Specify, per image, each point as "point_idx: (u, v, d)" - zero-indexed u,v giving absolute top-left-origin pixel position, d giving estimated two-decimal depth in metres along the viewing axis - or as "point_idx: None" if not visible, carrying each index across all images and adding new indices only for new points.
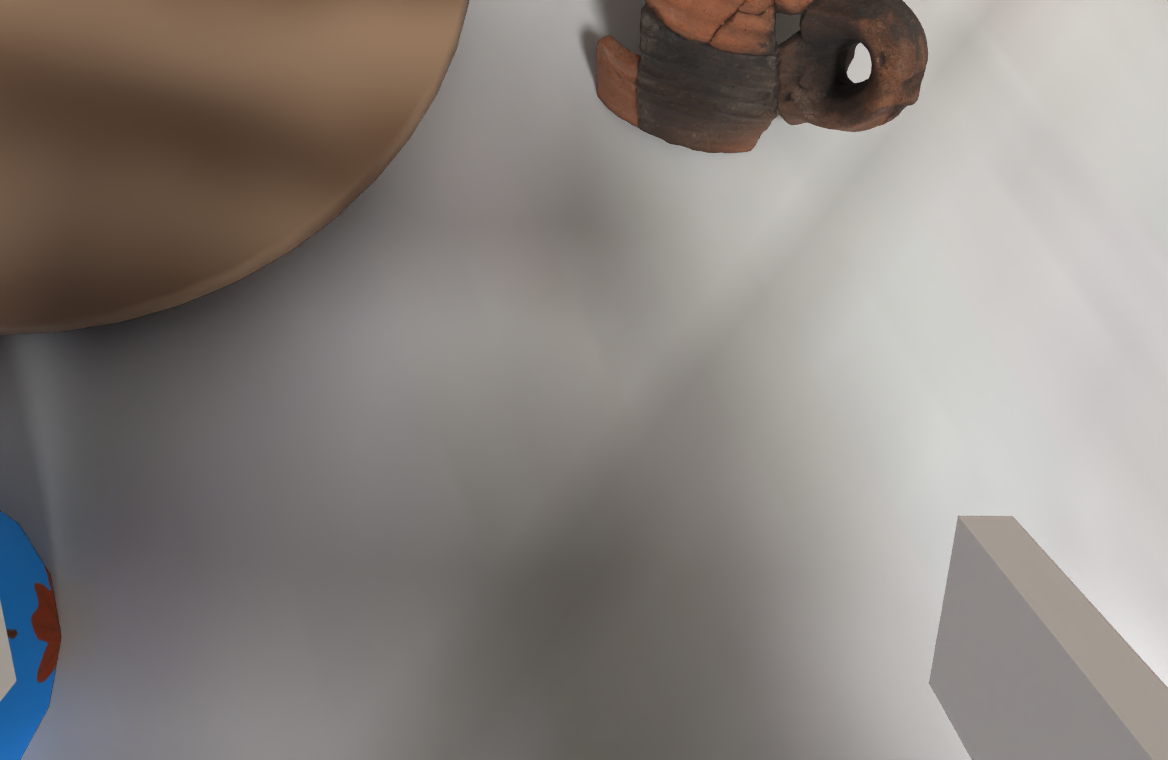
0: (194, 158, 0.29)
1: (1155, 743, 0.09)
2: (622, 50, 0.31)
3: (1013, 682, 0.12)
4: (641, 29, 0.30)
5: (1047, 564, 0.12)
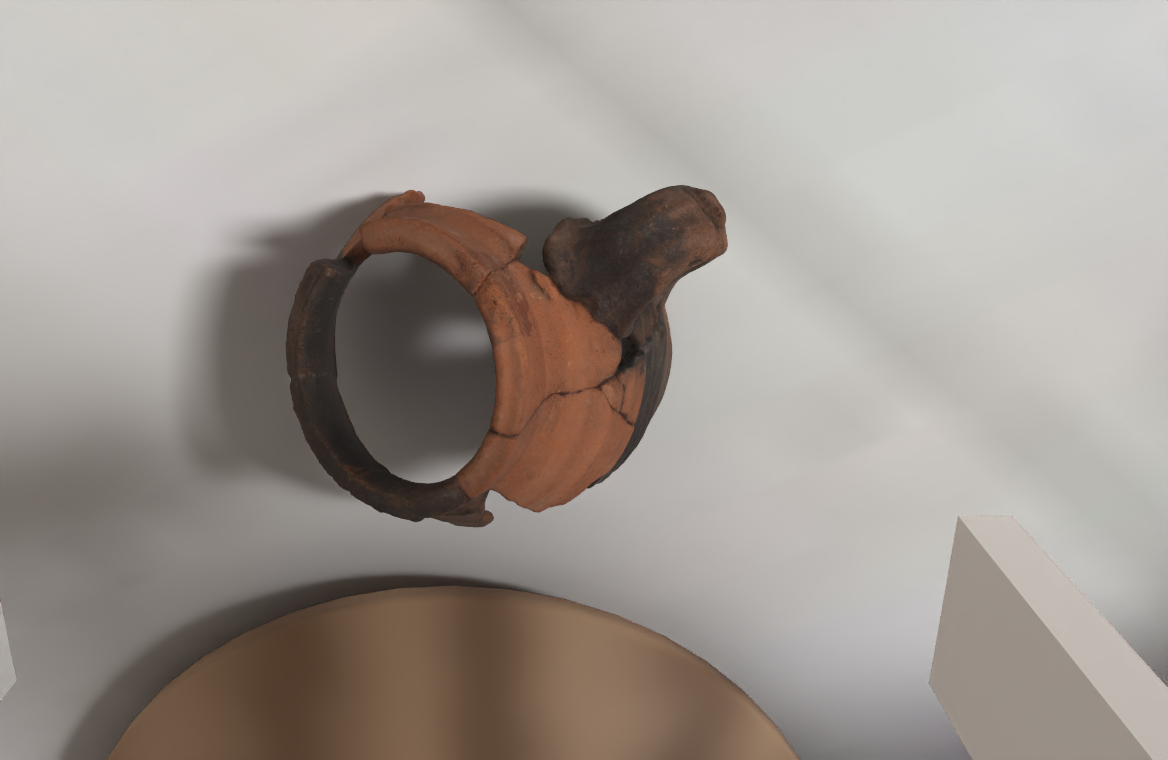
0: None
1: (1155, 743, 0.09)
2: None
3: (1012, 681, 0.12)
4: (602, 481, 0.27)
5: (1047, 564, 0.12)
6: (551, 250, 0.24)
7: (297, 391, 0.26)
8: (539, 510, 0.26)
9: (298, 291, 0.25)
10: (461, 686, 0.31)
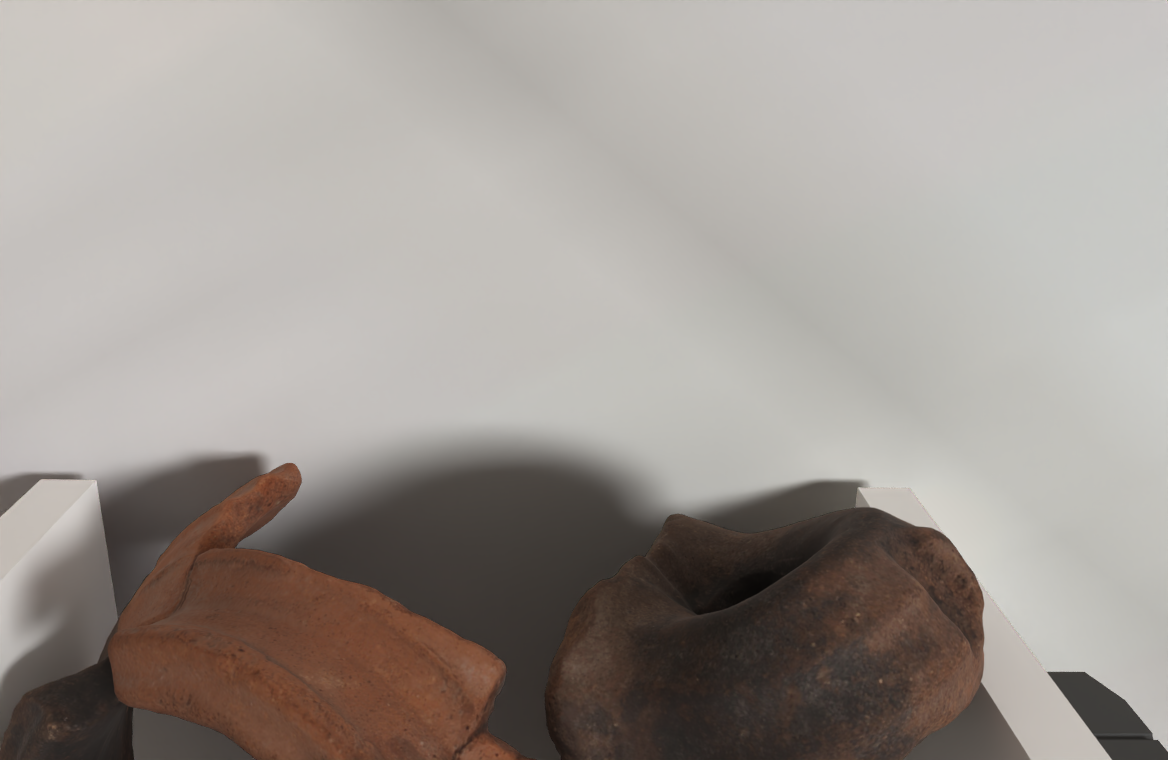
0: None
1: (999, 686, 0.10)
2: None
3: None
4: None
5: None
6: (566, 704, 0.10)
7: None
8: None
9: (1, 751, 0.11)
10: None
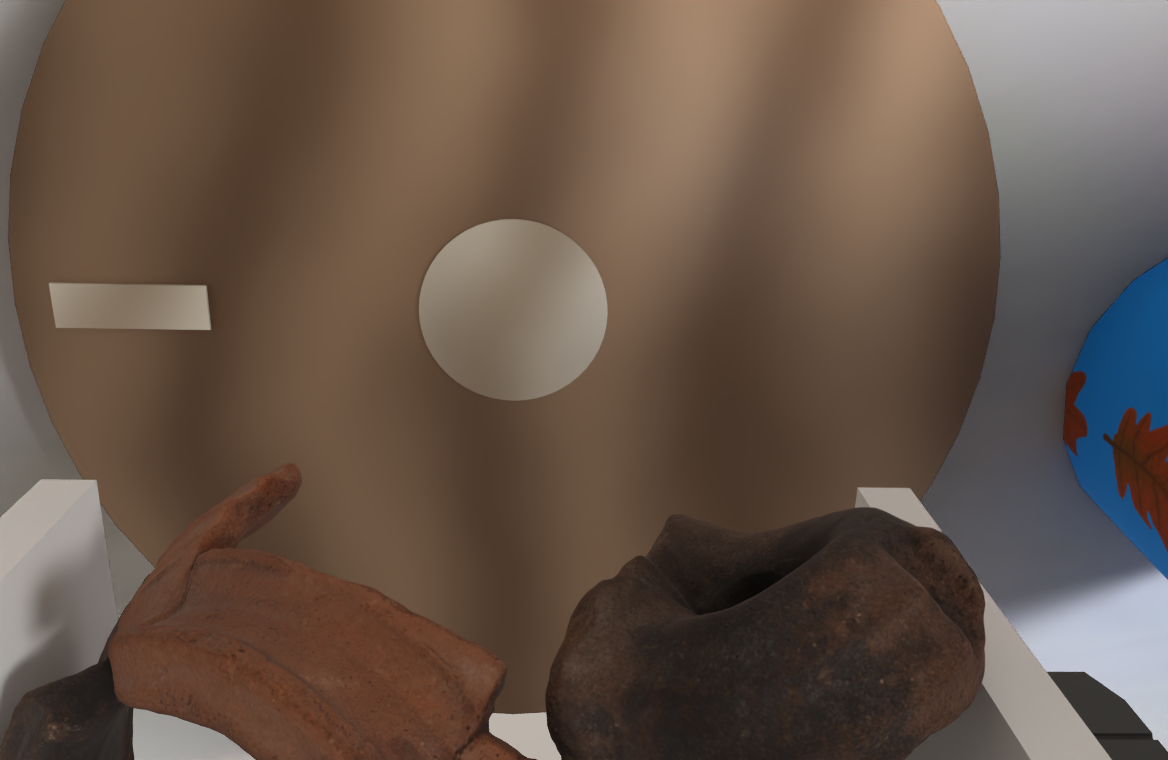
0: (827, 116, 0.25)
1: (998, 686, 0.10)
2: None
3: None
4: None
5: None
6: (567, 705, 0.10)
7: None
8: None
9: (1, 751, 0.11)
10: None
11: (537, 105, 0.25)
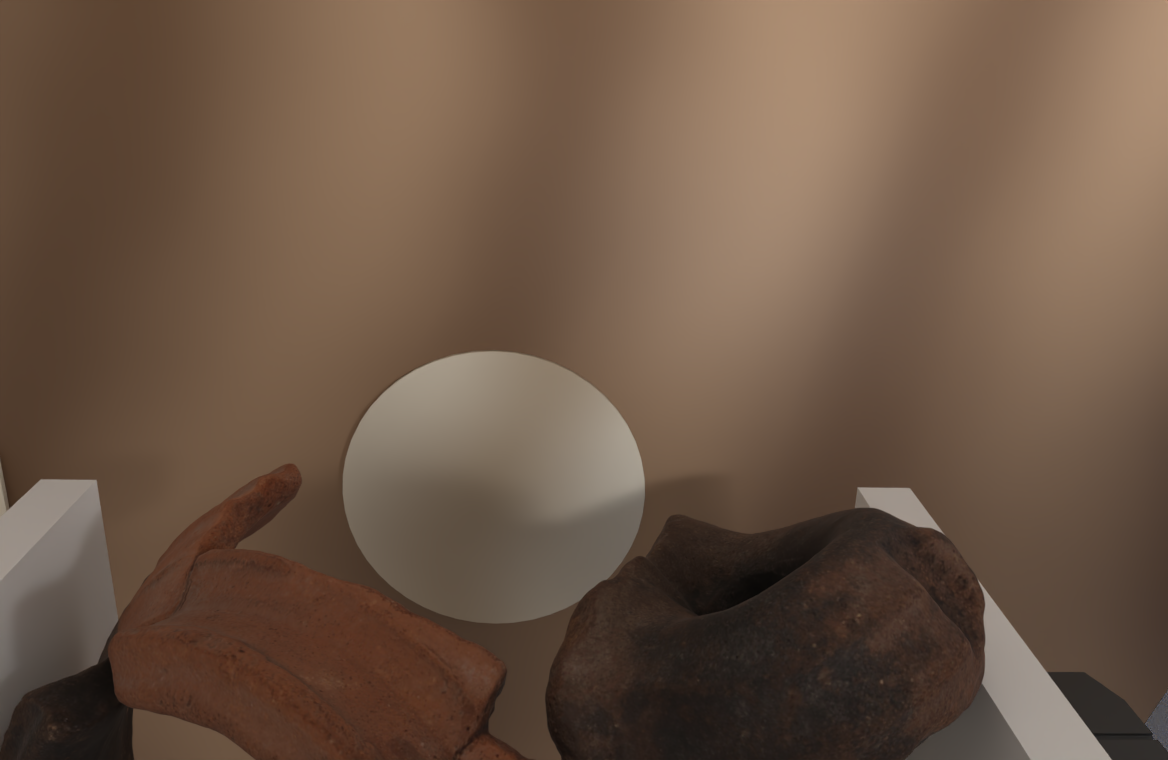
0: (1013, 187, 0.15)
1: (998, 686, 0.10)
2: None
3: None
4: None
5: None
6: (566, 705, 0.10)
7: None
8: None
9: (1, 752, 0.11)
10: None
11: (532, 169, 0.15)
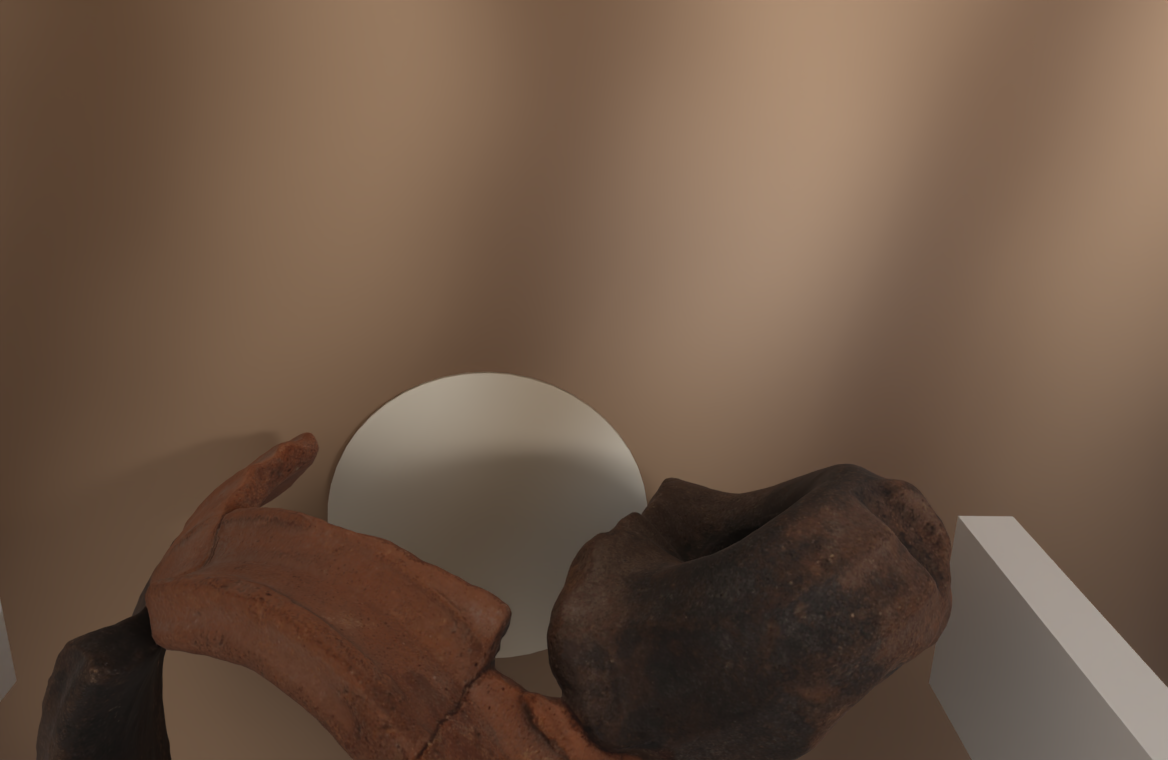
0: (1040, 199, 0.14)
1: (1155, 743, 0.09)
2: None
3: (1012, 681, 0.12)
4: None
5: (1047, 564, 0.12)
6: (566, 643, 0.11)
7: None
8: None
9: (46, 696, 0.12)
10: None
11: (528, 180, 0.14)
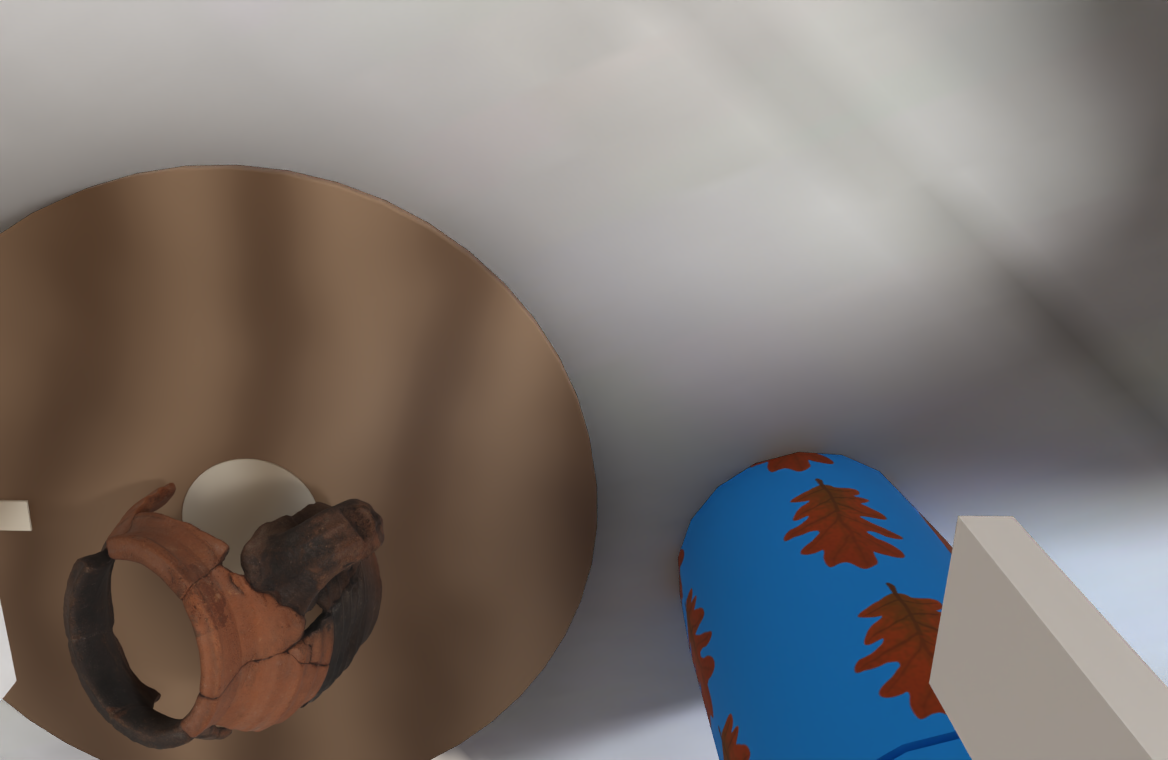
0: (464, 395, 0.37)
1: (1155, 743, 0.09)
2: None
3: (1012, 681, 0.12)
4: (315, 699, 0.36)
5: (1047, 564, 0.12)
6: (245, 556, 0.33)
7: (72, 650, 0.34)
8: (259, 730, 0.35)
9: (68, 579, 0.34)
10: (242, 256, 0.35)
11: (259, 386, 0.36)
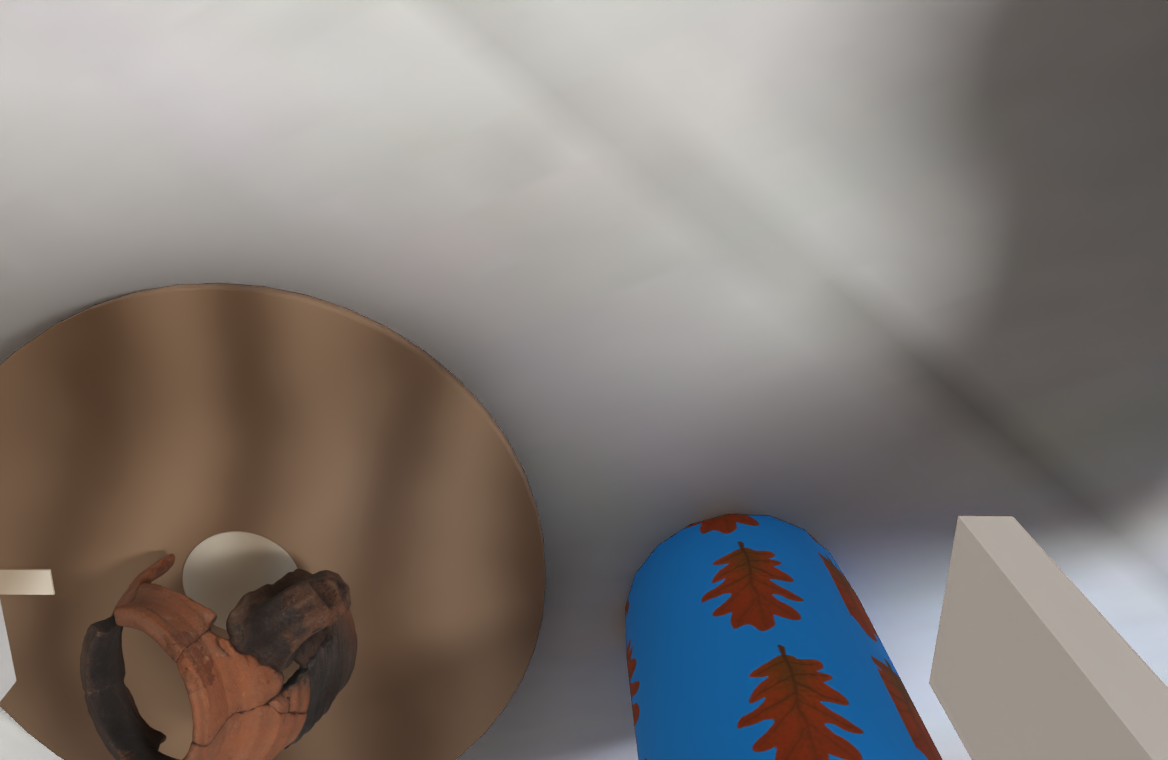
0: (423, 474, 0.42)
1: (1155, 743, 0.09)
2: None
3: (1012, 681, 0.12)
4: None
5: (1047, 564, 0.12)
6: (230, 623, 0.38)
7: (88, 701, 0.40)
8: None
9: (83, 641, 0.40)
10: (226, 361, 0.40)
11: (245, 469, 0.42)
